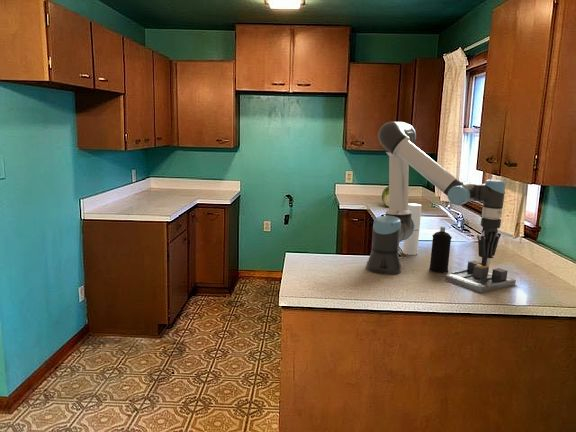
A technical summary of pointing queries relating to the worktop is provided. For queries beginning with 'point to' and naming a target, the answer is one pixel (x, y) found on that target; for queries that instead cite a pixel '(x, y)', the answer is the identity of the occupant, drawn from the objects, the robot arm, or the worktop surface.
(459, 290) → the worktop surface
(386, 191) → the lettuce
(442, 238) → the aerosol can
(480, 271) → the breaker handle
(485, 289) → the panel
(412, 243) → the cylindrical container
